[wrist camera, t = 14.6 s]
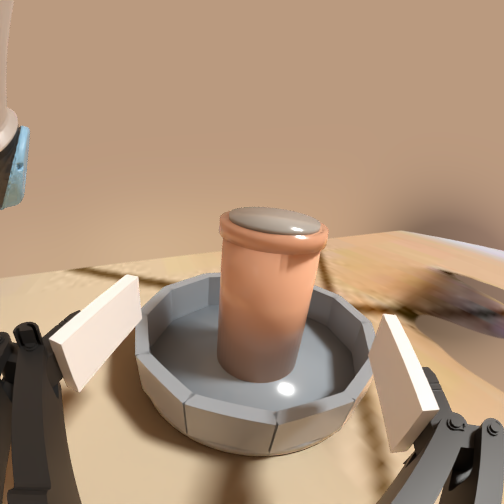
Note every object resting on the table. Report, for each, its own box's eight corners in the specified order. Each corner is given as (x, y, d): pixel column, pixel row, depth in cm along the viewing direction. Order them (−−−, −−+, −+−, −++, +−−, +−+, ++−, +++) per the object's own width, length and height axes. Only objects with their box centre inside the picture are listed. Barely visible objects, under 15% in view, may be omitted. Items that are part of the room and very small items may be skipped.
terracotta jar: (205, 334, 26) (210, 204, 22) (278, 326, 29) (297, 207, 24) (226, 393, 19) (238, 234, 15) (314, 374, 22) (351, 234, 18)
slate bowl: (141, 312, 30) (137, 276, 28) (301, 299, 37) (307, 267, 35) (154, 477, 12) (140, 445, 11) (402, 406, 19) (424, 368, 18)
